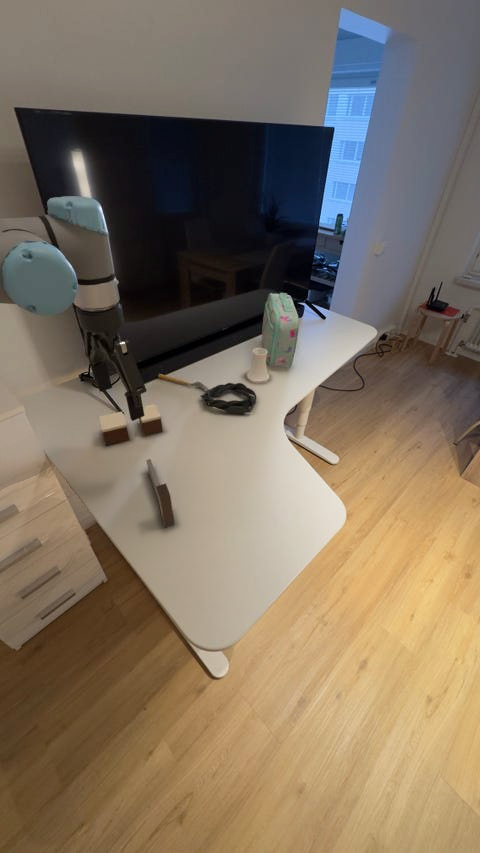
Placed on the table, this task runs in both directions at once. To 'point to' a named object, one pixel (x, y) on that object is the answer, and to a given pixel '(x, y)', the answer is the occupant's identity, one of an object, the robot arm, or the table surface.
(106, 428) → the cake
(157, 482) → the long brown beam
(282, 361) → the lunch box
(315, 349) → the table surface
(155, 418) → the cake slice
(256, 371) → the vase
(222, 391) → the cable
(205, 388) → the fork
